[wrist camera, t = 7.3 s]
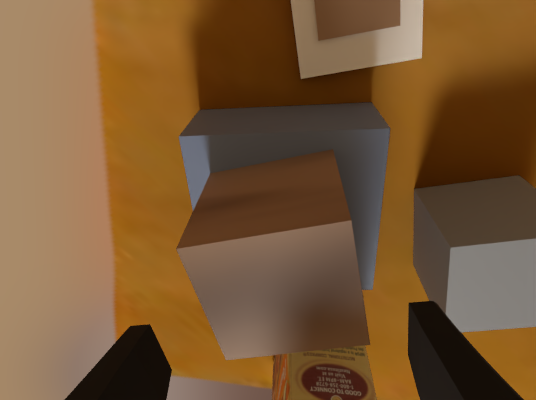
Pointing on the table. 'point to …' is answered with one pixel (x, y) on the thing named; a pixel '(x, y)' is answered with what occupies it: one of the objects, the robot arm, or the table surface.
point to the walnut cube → (276, 258)
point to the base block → (299, 154)
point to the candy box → (323, 375)
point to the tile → (355, 34)
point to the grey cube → (478, 251)
